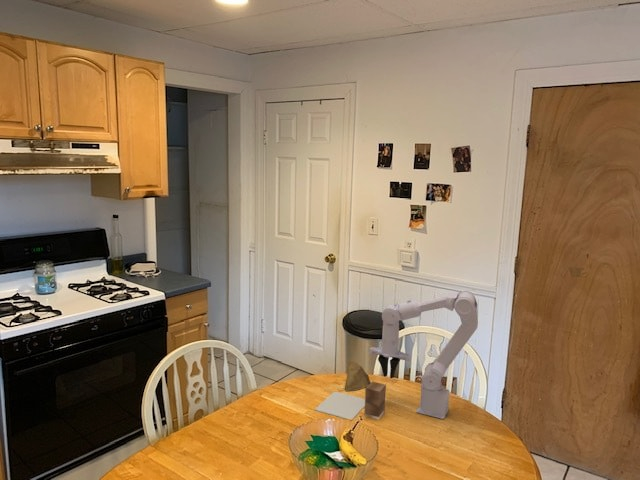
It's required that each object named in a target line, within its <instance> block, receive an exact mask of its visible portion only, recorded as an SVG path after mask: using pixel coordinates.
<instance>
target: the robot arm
mask: <svg viewBox="0 0 640 480" xmlns="http://www.w3.org/2000/svg"><path fill="white" fill-rule="evenodd" d="M478 305H479V303H478V301H477V298H476V297H475V294H474V293H472V292H471V291H469V290H463V291H462V290H461V291H460V292H457V291H456V292H451V293H448V294H444V295H441V296H438V297H434V298H431V299H427V300H423V301H417V300H416V299H414V300H412V299H411V298H410V299H407V300H406V302H402V303H394V304H388V306H386V308H384V310H383V311H382V312H381V320H382V321H383V322H382V336H381V337H382V338H381V347H374V346H371V347H370V348H369V351H368V352H369V355H378V358H377V361H378V362H379V364H380V367H381V370H382V374H383V375H382V377H384V378H385V377H387V376H388V373H389V378H390V379H393V378H394V377H395V373H396V370H397V367H398V365H399V362H400V361H401V360H402V361H405V362H408V363H409V362H410V361H411V357H412V355H411V354H408V353H406V352H402V351H399V337H400V335H399V334H400V321H405V320H410V319H414V318H418V317H420V316H421V314H422V313H424V312H428V311H433V310H437V309H444V308H445V309H447V310H449V311H451V312H454V311H455V312H456V313H457V315H458V316H459V318H460V322H461V324H460V325H459V327H458V328H457V330H456V331H455V332H454V333H453V335H452V337H451V338H450V339H449V340H448V342H447V343H446V345H445V346H444V348H442V350H441V352H440V353H439V355H438V356H437V357H436V358H435V359H434V360H433V361H432V362H431V363H428V364H427V365H426V366H425V368H424V372H423V374H422V377H421V385H420V398H419V399H420V402H419V406H418V408H417V409H416V413H418V414H422V415H425V416H430V417H434V418H438V419H441V420H444V419H445V418H446V415H447V414H448V412H449V410H450V408H449V406H450V405H449V404H450V390H449V389H448V388H445V387H443V386H444V385H443V383H442V379H443V378H444V376H445V374H446V372H447V370H448V368H449V367H450V366H451V364H452V363H453V361H454V360H455V359H456V358H457V356H458V355H459V354H460V352H461V351H462V350H463V348H464V347H465V346H466V344H467V343H468V342H469V340H470V338H471V337H472V336H473V335H474V334H475V332H476V331H477V329H478V327H479V326H478V325H479V318H478V317H479V315H478V313H479V310H478ZM390 358H391V359H390ZM389 359H390V360H389ZM389 365H390V369H389V371H390V372H389V371H388V367H389Z"/></svg>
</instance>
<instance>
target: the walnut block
mask: <svg viewBox="0 0 640 480" xmlns="http://www.w3.org/2000/svg"><path fill="white" fill-rule="evenodd" d="M370 382H371V383H370V384H369V385H368V386H367V387H365V391H364V392H365V393H364V399H365V407H364V417H367V418H369V419H373V420H377V421H379V420H380V419H381V418H382V416H383V415H384V414H385V411H386V410H385V409H386V407H385V406H386V394H387V392H386V391H387V384H384V383H381V382H375V381H370Z"/></svg>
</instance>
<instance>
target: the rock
mask: <svg viewBox="0 0 640 480" xmlns="http://www.w3.org/2000/svg"><path fill="white" fill-rule="evenodd" d="M371 382H372V381H371V380H370V375H368V374H367V373H366V371H365V370H364V368H363V366H362V365H360V364H358V363H357V362H356V361H355V362H354V361H348V366H347V373H346V380H345V384H344V387H345V388H344V390H345V392H350V391H351V392H352V391H359V390H361V389H366V387H367V386H368V385H369V384H370V383H371Z"/></svg>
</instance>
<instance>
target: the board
mask: <svg viewBox="0 0 640 480" xmlns="http://www.w3.org/2000/svg"><path fill="white" fill-rule="evenodd" d="M363 409H365V398H362V397H359V396H355V395H350V394H347V393H343V392H340V391H336V390H335V391H333V392H332V393H331V394H330V395H329V396H328V397H327V398H325V399H324V400H323V401H322V402H321V403H320V404H319V405H317V406H316V407H315V408H314V409H313V410H314V411H315V412H320V413H323V414H327V415H330V416H333V417H337V418H341V419H344V420H347V419H353V420H354V419H355V418H356V416H358V414H359V413H360V412H361V411H362V410H363Z"/></svg>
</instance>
